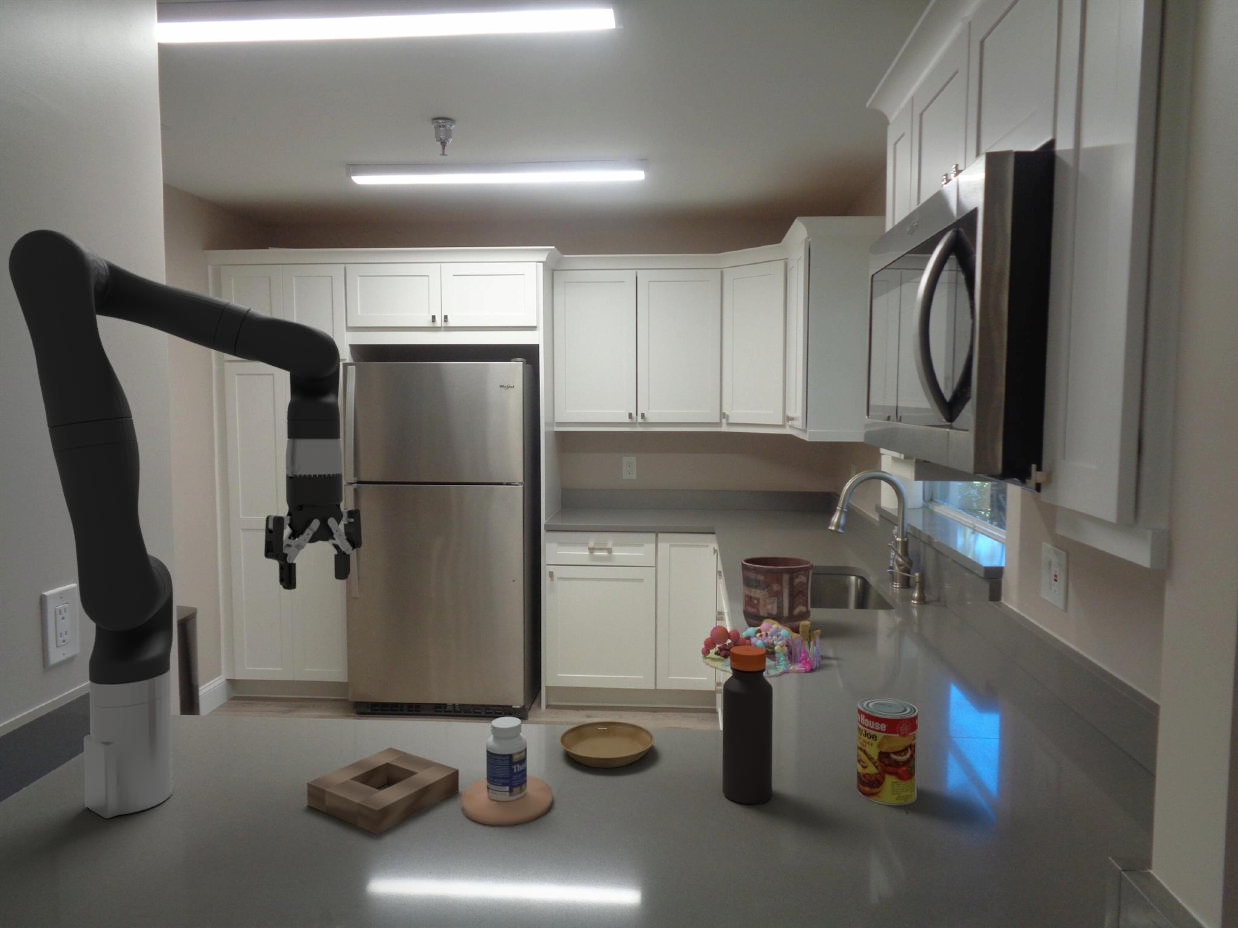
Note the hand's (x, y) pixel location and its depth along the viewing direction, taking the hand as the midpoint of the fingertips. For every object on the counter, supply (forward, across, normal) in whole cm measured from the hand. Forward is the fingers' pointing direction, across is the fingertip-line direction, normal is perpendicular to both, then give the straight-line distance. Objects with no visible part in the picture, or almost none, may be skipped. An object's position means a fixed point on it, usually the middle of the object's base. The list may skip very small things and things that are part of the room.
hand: (315, 584), depth 110 cm
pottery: (+28, -116, +24) cm, 121 cm away
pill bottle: (+27, -9, +28) cm, 40 cm away
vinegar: (+28, -29, +54) cm, 68 cm away
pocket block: (+28, -1, +13) cm, 31 cm away
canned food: (+28, -40, +70) cm, 85 cm away
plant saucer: (+29, -30, +30) cm, 51 cm away
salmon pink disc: (+28, -9, +28) cm, 41 cm away
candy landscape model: (+29, -90, +32) cm, 99 cm away
